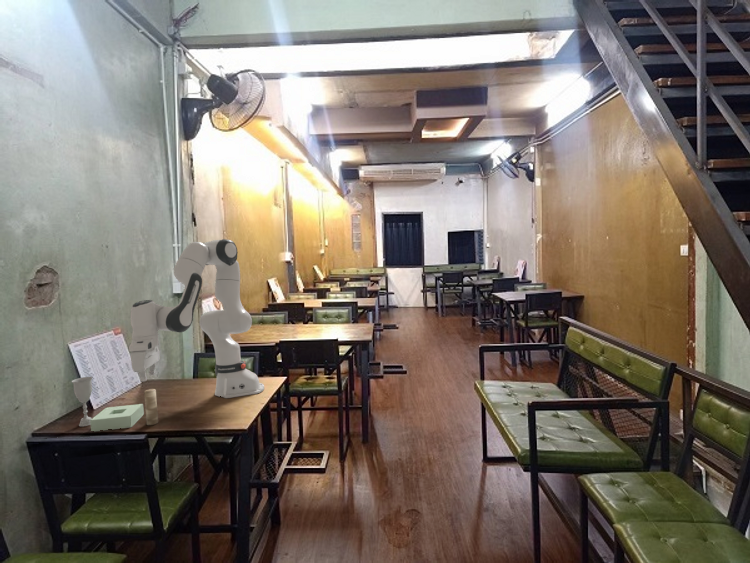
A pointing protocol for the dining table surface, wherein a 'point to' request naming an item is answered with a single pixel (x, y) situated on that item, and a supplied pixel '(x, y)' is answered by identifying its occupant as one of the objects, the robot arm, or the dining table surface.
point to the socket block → (117, 417)
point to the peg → (151, 406)
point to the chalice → (83, 396)
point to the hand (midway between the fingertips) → (148, 377)
